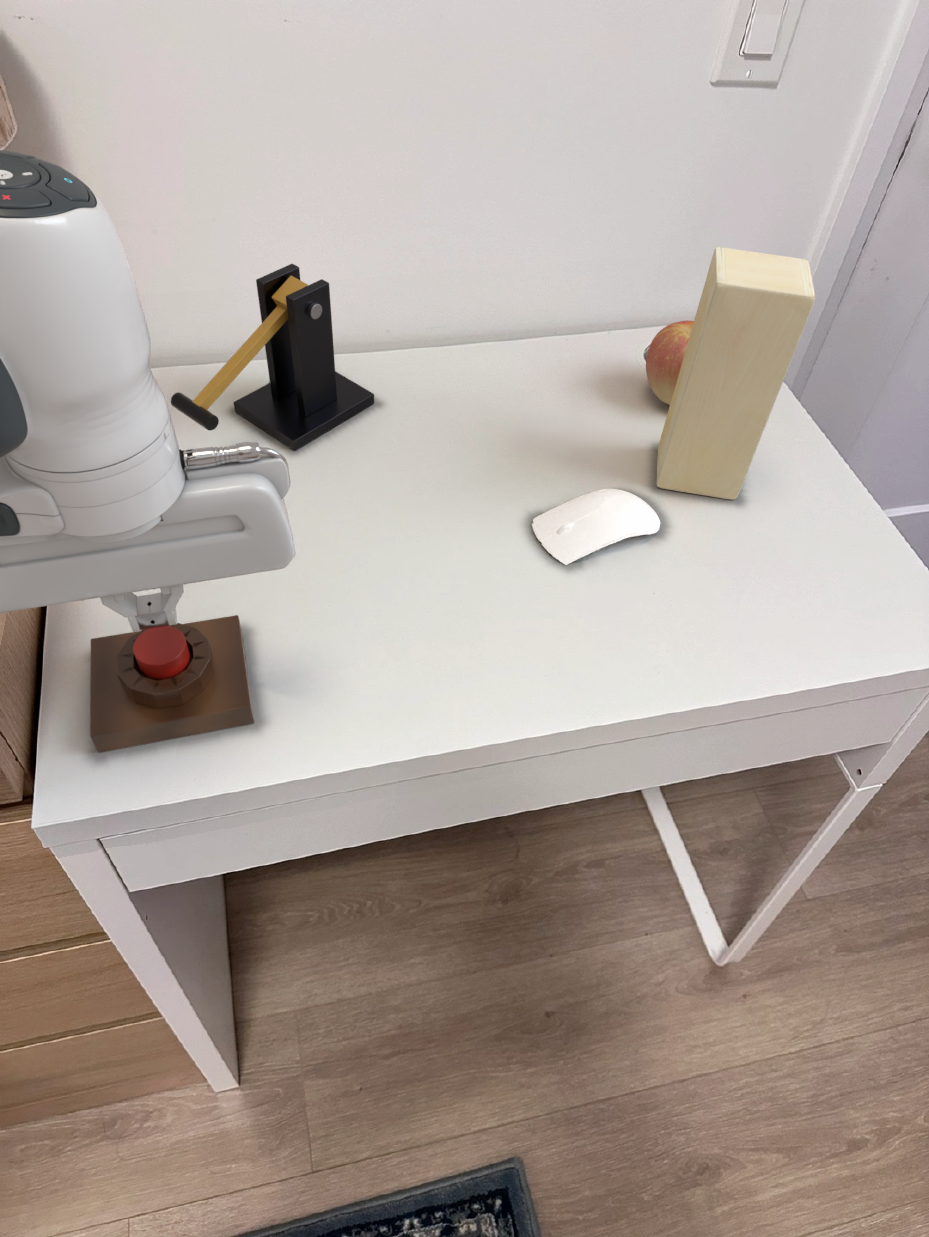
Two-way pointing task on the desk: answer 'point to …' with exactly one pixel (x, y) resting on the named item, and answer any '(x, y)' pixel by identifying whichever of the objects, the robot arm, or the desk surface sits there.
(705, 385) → the tall wooden block
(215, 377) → the bolt lever
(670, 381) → the apple
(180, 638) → the release button
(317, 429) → the bolt bracket
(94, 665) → the release housing
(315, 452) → the desk surface
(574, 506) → the computer mouse
